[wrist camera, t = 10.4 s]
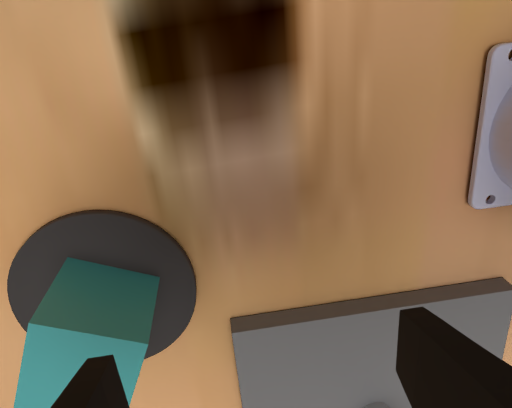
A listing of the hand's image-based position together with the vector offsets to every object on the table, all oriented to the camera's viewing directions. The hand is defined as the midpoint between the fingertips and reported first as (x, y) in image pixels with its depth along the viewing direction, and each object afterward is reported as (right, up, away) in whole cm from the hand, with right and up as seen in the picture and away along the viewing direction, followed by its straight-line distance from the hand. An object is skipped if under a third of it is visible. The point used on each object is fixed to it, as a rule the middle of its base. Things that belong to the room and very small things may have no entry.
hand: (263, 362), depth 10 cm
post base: (+7, -9, +16) cm, 20 cm away
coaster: (-8, 0, +11) cm, 13 cm away
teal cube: (-8, -1, +10) cm, 13 cm away
